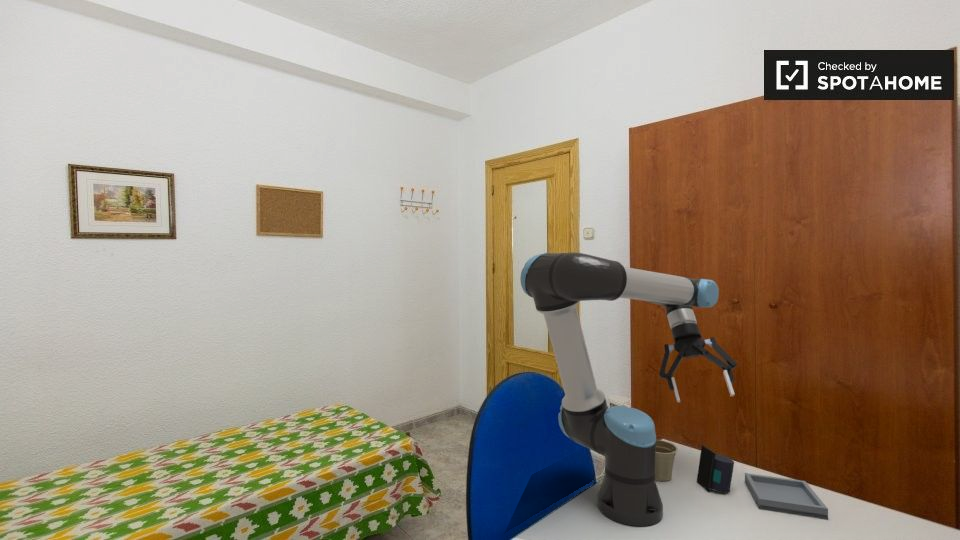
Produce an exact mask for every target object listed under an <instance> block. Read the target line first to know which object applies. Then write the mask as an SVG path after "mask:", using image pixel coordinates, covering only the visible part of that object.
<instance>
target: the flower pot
mask: <svg viewBox="0 0 960 540" xmlns="http://www.w3.org/2000/svg"><path fill="white" fill-rule="evenodd" d="M678 449H679V448H678V447H677V445H675V444H674V443H671V442H670V441H666V440H663V439H662V440H661V439H656V446H655V481H658V482H659V481H660V482H665V481H667V482H668V481H670V480H672V473H673V469H674V468H673V467H674V461H675V457H676V454H677V452H678V451H679V450H678Z"/></svg>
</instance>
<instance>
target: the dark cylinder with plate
mask: <svg viewBox="0 0 960 540" xmlns="http://www.w3.org/2000/svg"><path fill="white" fill-rule="evenodd" d="M698 463H699V464H698V468H697V469H698V470H697V475H696V477H697V478H696V484H697V485H699V486H700V487H702V488H703V489H704V490H705V491H707V492H708V493H711V490H713V491H715V492H718V493H723V494H728V493H730V492H731V485H732V481H733V472H734V467H735V466H734V465H735V462H734V460H733V459H731V458H730V457H727V456H725V455H722V454H717V453H716V452H715V451H713V450H711V449H710V448H708V447H707V446H705V445H703V444H702V445H701V449H700V457H699V461H698Z"/></svg>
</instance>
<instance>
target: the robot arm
mask: <svg viewBox="0 0 960 540" xmlns="http://www.w3.org/2000/svg"><path fill="white" fill-rule="evenodd" d="M520 286H521V288H522V290H523V292H524V293H525V294H526V295H527V296H529V297H530V298H532V299H533V301H534V306H535V309H536V311H537V312H538V313H540V314H542V315H543V317H544V320H545V323H546V324H545V325H546V329H547V331H548V332H547V333H548V336H549V340H550V344H551V346H552V350H553V354H554V358H555V362H556V365H557V368H558V373H559V376H560V380H561V381H560V382H561V385H562V388H563V391H564V396H563V398H562V399H561V405H560V408H559V410H560V412H558V417H557V419H558V425H559V427H560V430H561V432H562V433H563V434H564V435H565V436H566V437H567V438H569V440H571V441H572V442H574V443H576V444H578V445H581V446H583V447H584V448H587V449H589V450H591V451H593V452H595V453H598V454H599V455H601V456H603V457H604V474H603V478H602V480H601V483H600V486H599V489H598V491H597V508H598V509H599V511H600V512H601V513H602V514H603V515H604V516H606V517H607V518H609V520H610V519H611V520H612V521H615V522H617V523H620V524H623V525H627V526H633V527H647V526H652V525H655V524H658V523H659V522H660V521H661V520H662V519H663V515H664V505H663V501H662V498H661V495H660V492H659V489H658V485H657V482H656V480H655V446H656V440H657V434H656V428H655V422H654V420H653V419H652V417H650V416H649V414H647V413H646V412H644V411H642V410H640V409H637V408H634V407H627V406H625V405H612V406H610V407H608V402H607V399H606V395H605V392H604V391H603V390H602V389H599V388H598V387H597V383H596V379H595V376H594V372H593V368H592V364H591V359H590V355H589V352H588V348H587V344H586V339H585V336H584V332H583V329H582V324H581V320H580V317H579V312H578V307H577V306H578V305H579V304H580V302H583V301H586V302H587V301H608V302H609V301H611V302H612V301H616V300H619V299H620V298H621V299H627V300H628V299H629V300H637V301H644V302H648V303H651V304H655V305H657V306H661V307H664V309H665V314H666V318H667V320H668V324H669V328H670V329H671V335H672V339H673V341H674V344H670V345H669V344H667V343H666V344H664V346H663V347H664V354H663V358H662V362H661V365H660V369H659V373H658V374H659V375H658V376H659V378H660V379H662V380H663V379H664V380H666V381H667V384H668V389H669V391H671V392H672V391H674V395H675V399H676V402H677V403H679V404H680V403H681V399H680V395H679V390H678V386H677V383H676V379H675V377H674V374H675V372H676V371H677V369H678V367H679V366H680V363H682V361H683V360H684V358H685V359H692V358H699V357H701V356H702V357H703V358H706V359H707V360H709V361H710V362H712V363H713V364H714V365H716V366H718V367H719V368H720V369H722V370H723V372H722V375H723V377H724V380H725V384H726V386H727V389H728V393H729V397H734V396H735V391H734V388H733V384H734V383H735V378H734V373H733V371H732V370H734V369H736V368H737V366H738V363H737V362H736V361H735V360H734V359H733V358H732V357H731V356H730V355H729V354H728V353H727V352H726V351H725V350H724V349H723V347H721V346H720V345H719V344H718V342H717V340H716V338H715V337H714V336H711V337H710V338H708V339H704V338H703V337H702V333H701V332H700V331H701V330H700V328H699V325H698V324H697V323H698V321H697V317H696V315H695V313H694V310H693V308H713V306H715V305H716V304H717V302H718V300H719V294H720V293H719V292H720V291H719V290H720V289H719V286H718V284H717V283H716V282H715V281H714V280H712V279H706V278H700V279H699V278H690V277H684V276H679V275H674V274H668V273H664V272H663V273H661V272H656V271H649V270H644V269H638V268H633V267H628V266H624V264H622V263H621V262H619V261H618V260H617V261H616V260H612V259H607V258H603V257H600V256H599V257H598V256H596V255H591V254H587V253H582V252H573V251H571V252H556V253H555V252H553V253H552V252H545V253H540V254H536V255H533V256H531V257H530V258H528V259H527V260H526V262H525V263H524V265H523V268H522V269H521V271H520ZM706 345H708V347H709V348H712V350H714V351H715V353H717V354H718V356H719V357H721V358H722V359H720V358H719V357H717V356H716V355H714V354H712V353H711V352H709V351H708V349H706V348H705V346H706ZM673 350H675V351H676V352H677V353H678V354H677V355H676V357H675V359H674V360H673V363H672V364H671V367H670V368H669V370H668V371H666V370H667V368H668V363H669V359H670V354H671V353H673ZM723 360H724V361H723ZM666 372H667V373H666Z"/></svg>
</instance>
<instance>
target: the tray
mask: <svg viewBox="0 0 960 540" xmlns="http://www.w3.org/2000/svg"><path fill="white" fill-rule="evenodd" d="M744 484H745V485H746V487H747V490H748V491H749V493H750V494H751V496H752V498H753V500H754V502H755V504H756V506H757V508H758V509H759V510H764V511H771V512H776V513H777V512H778V513H784V514H789V515H790V514H791V515H797V516H803V517H811V518H816V519H821V520H822V519H824V520H829V508H828V507H827V505H826V504H825V503H824V501H823V500H821V499H820V497H819V496H818V495H817V493H816V492H815V491H814V490H813V489H812V487H811V486H810V485H809V484H808V482H807V481H805V480H801V479H792V478H784V477H777V476H769V475H763V474H762V475H761V474H755V473H747V472H744Z"/></svg>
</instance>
